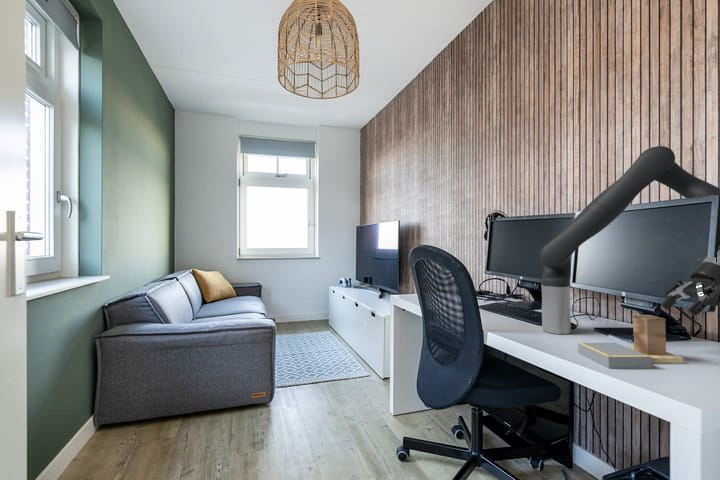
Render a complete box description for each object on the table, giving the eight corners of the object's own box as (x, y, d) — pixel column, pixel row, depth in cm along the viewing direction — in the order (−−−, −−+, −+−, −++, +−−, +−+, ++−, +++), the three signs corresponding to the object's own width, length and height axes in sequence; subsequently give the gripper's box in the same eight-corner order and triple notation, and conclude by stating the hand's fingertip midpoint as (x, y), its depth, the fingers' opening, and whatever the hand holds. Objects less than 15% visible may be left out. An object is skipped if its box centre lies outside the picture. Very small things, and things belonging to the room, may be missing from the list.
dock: (578, 352, 102) (578, 342, 102) (615, 352, 102) (615, 342, 102) (608, 368, 89) (608, 356, 89) (651, 368, 89) (651, 356, 89)
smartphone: (641, 347, 106) (607, 334, 121) (641, 350, 106) (607, 336, 121) (665, 347, 106) (627, 334, 121) (665, 350, 106) (628, 336, 121)
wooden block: (633, 349, 100) (632, 315, 100) (651, 349, 100) (650, 314, 100) (647, 355, 95) (646, 318, 95) (666, 355, 95) (665, 318, 95)
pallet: (619, 352, 103) (619, 347, 103) (652, 352, 102) (652, 346, 102) (646, 363, 93) (646, 357, 93) (683, 363, 92) (683, 357, 92)
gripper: (684, 259, 105) (647, 297, 105) (734, 262, 91) (691, 305, 91) (702, 277, 105) (665, 314, 105) (755, 281, 90) (712, 325, 90)
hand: (677, 310), depth 98 cm, fingers open, 8 cm apart
